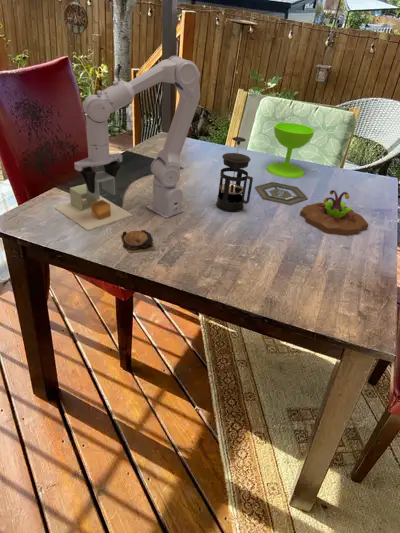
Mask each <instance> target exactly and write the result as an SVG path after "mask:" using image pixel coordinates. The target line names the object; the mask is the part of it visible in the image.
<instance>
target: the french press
mask: <svg viewBox="0 0 400 533" xmlns="http://www.w3.org/2000/svg"><path fill="white" fill-rule="evenodd" d="M232 140H233V141H234V142H236V145H237V148H236V152H228V153H224V154H222V156H221V158H222V159H223V165H224V166H226V167H223V168H222V169H220V173H219V174H220V177H219V187H218V194H217V198H216V199H217V200H216V204H215V206H216V208H218V209H219V210H221V211H224V212H229V213H237V212H240V211H243V209H244V207H245V206H244V205H247V204H249V202H250V198H251V192H252V186H253V181H254V180H253V179H254V178H253V177H252V176H250V175H249V172H248V171H246V168H248V167H249V162H251V159H252V158H250V156H248V155H245V154H244V153H243V154H242V153H239V147H240V144H241V142H242V143H243V142H246V139H245V138H244V137H241V136H234V137H232ZM244 169H245V170H244ZM226 172H233V176H231V175H230V176H229V175H226V174H224V173H226ZM235 173H237V174H235ZM235 175H236V176H235ZM243 175H244V176H243ZM248 180H249V184H248V191H247V194H246V189H247V188H246V187H247V183H248ZM223 181H224V182H223ZM234 182H235V183H234ZM242 182H243V186H242V185H241V184H242ZM245 194H246V200H245Z"/></svg>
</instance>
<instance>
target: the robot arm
mask: <svg viewBox="0 0 400 533" xmlns="http://www.w3.org/2000/svg"><path fill="white" fill-rule="evenodd" d="M201 75H202V74H201V73H200V70H199V69H198V66H197V65H196V64H195V62H194V61H192V60H189V59H188V60H187V59H185V58H182V57H181V56H179V55H171V56H170V57H169V58H167V59H163V60H161V61H160V62H158V63H157V64H156V65H154V66H152V67H151V68H149V69H147V70H145V71H144V72H142V73H141V74H139V75H138V76H136V77H135V78H133V79H131V80H130V81H125V80H117V79H115V80H114V81H112V85H110V86H108V87H106V88H105V89H102V90H100V89H99V90H97V91H96V94H90V95H87V96H86V97H85V98H84V100H83V104H82V110H83V111H84V113H85V114H86V115H85V118H86V119H85V123H86V125H85V127H86V141H87V143H86V144H87V153H88V154H87V155H88V157H86V158H83V159H81V160H78V161H75V162H74V164H73V166H74V170H76V171H77V172H79V173H80V174H81V176H82V178H83V179H84V182H85V184H86V185H87V188H88V191H89V192H91V193H94V191H95V186H94V180H95V174H96V171H95V170H93V168H95V167H98V166H103V167H104V168H103V169H104V172H106V173H108V174H109V175H111V176H113V177H115V178H116V176H117V175H118V172H119V170H120V169H121V164H120V163H122V162H123V155H122V154H121V153H110V141H109V140H110V138H109V135H110V134H109V125H108V121H109V120H108V119H109V118H110V116H111V114H113V113H114V112H116V111H118V110H120V109H121V108H123V107H125V106H127V105H129V104H131V103H132V102H133V101H134V98H135V96H136V94H138V93H139V94H140V92H143V91H145V90H148V89H149V88H151V87H153V86H156V85H157V84H159V83H167V84H173V85H174V86H175V88H176V91H177V93H178V95H179V100H178V103H177V104H176V105H177V106H176V109H175V112H174V114H173V118H172V120H171V124H170V127H169V130H168V133H167V136H166V139H165V142H164V145H163V148H162V149H161V150H159V152H157V155H156V157H155V159H153V160H152V162H151V165H150V172H151V174H152V175H153V180H152V203H151V204H148V205H146V208H147V209H149V210H150V211H153V212H154V213H156V214H158V215H159V216H162V217H163V218H169V217H173V216H175V215H177V214H181V213H183V212H184V211H185V210H184V209H183V198H184V197H183V196H184V195H183V191H182V190H181V189H180V188H179V187H178V185H177V184H178V183H179V181H180V177H181V175H180V174H181V173H180V172H181V171H180V170H181V167H182V163H181V153H182V150H183V147H184V145H185V142H186V140H187V136H188V133H189V131H190V127H191V124H192V122H193V119H194V116H195V113H196V111H197V109H198V105H199V102H200V99H201V84H200V79H201ZM118 162H119V163H118Z"/></svg>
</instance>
